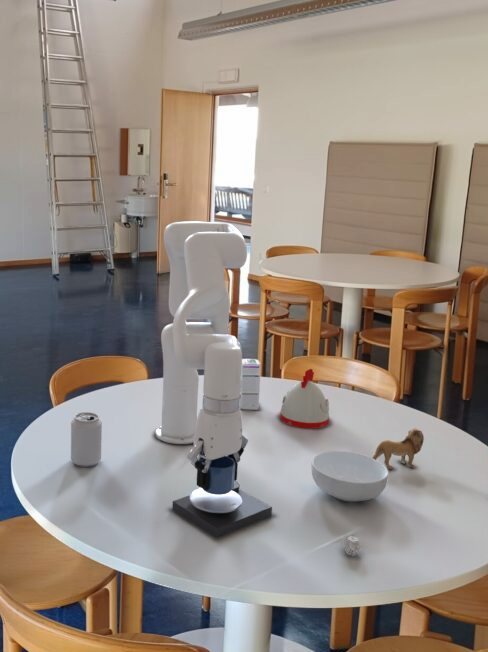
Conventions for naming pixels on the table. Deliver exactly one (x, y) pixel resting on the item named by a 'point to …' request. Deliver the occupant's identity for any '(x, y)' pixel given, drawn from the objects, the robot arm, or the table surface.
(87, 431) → the can
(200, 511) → the scale
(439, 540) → the table surface
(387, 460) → the lion figurine
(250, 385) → the syrup box
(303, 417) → the kitchen timer
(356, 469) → the cereal bowl
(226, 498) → the pan
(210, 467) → the blue cup
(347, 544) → the game die
